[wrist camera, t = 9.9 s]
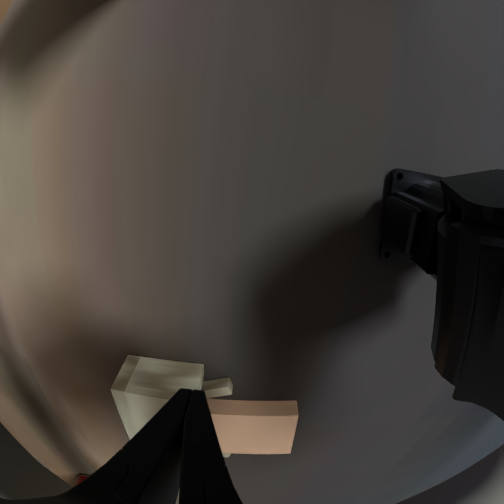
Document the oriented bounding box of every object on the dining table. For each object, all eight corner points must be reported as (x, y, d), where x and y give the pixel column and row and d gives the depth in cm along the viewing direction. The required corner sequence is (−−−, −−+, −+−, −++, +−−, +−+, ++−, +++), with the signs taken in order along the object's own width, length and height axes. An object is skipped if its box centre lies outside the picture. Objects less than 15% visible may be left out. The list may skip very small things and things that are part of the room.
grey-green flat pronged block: (233, 366, 24) (229, 406, 19) (231, 454, 29) (229, 485, 25) (128, 354, 24) (110, 389, 19) (154, 445, 29) (146, 474, 25)
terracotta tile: (296, 396, 26) (298, 415, 23) (288, 436, 28) (290, 453, 26) (150, 388, 26) (143, 406, 24) (162, 429, 28) (158, 445, 26)
